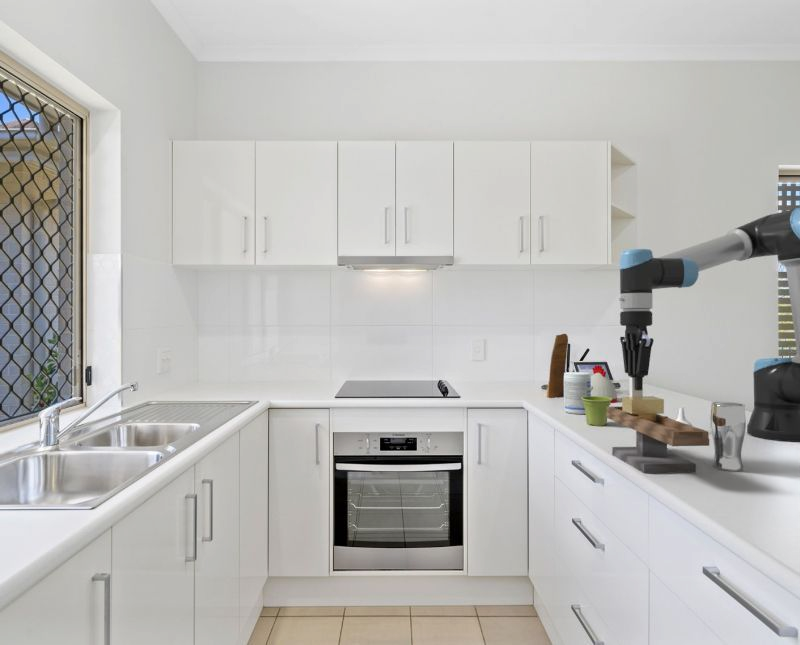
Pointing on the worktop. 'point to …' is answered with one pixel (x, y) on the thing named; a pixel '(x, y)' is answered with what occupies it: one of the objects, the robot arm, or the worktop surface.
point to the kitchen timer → (602, 384)
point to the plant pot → (596, 409)
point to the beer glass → (728, 434)
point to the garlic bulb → (682, 417)
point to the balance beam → (657, 442)
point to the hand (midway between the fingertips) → (636, 402)
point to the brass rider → (643, 406)
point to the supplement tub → (576, 391)
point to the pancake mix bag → (557, 367)
